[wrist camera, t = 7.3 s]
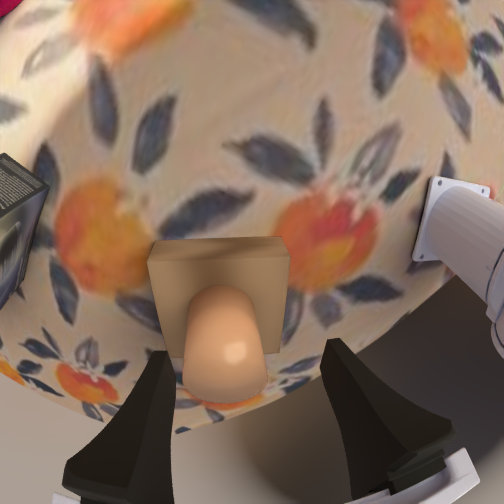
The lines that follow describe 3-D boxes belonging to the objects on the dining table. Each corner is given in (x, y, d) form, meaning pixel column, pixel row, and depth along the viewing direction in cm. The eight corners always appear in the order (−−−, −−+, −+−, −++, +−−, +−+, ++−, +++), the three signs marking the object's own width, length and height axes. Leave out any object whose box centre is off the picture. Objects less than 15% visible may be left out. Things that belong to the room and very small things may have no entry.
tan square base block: (280, 236, 20) (290, 256, 18) (273, 328, 24) (279, 352, 22) (155, 240, 19) (146, 261, 17) (172, 332, 23) (169, 357, 21)
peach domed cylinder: (257, 284, 18) (272, 354, 13) (252, 334, 20) (263, 401, 15) (186, 285, 18) (177, 355, 12) (190, 335, 20) (187, 403, 15)
